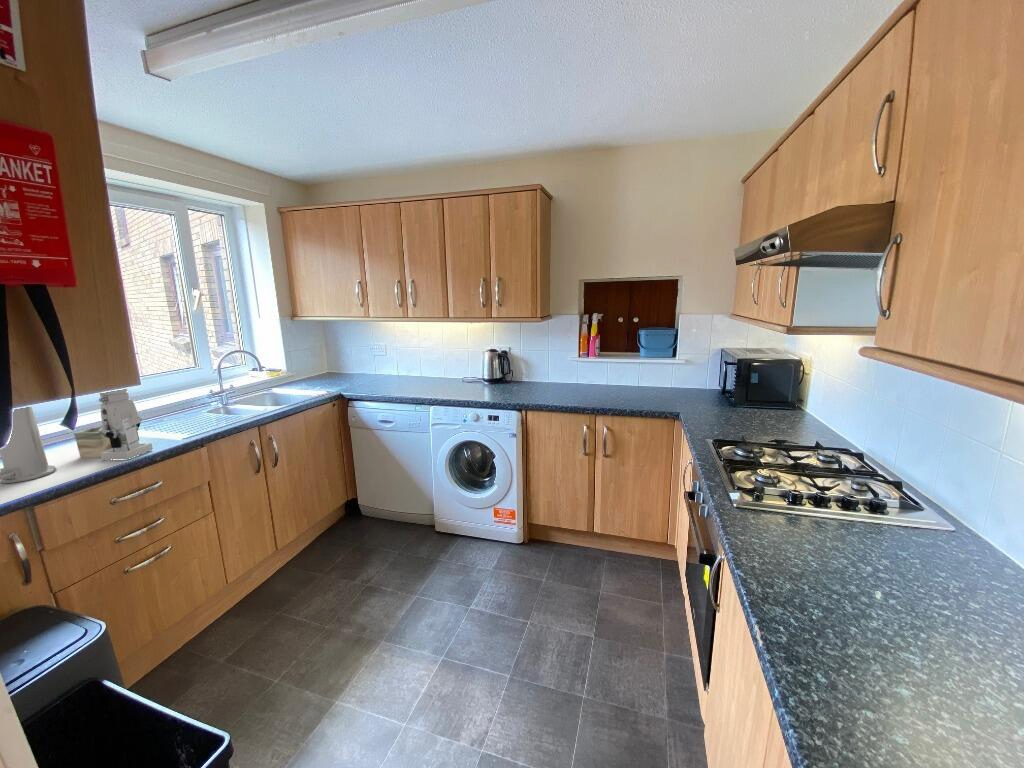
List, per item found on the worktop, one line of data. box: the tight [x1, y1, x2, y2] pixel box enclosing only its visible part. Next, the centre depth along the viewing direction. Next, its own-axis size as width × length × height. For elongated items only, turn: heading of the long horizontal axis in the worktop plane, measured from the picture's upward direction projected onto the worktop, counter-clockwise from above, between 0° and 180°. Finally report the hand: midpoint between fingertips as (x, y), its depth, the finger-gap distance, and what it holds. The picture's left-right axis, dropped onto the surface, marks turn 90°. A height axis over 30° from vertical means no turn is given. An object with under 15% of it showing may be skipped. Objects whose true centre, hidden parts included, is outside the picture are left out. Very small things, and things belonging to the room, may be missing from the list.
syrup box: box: [108, 418, 140, 452], centre depth 158 cm, size 6×6×14 cm
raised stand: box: [73, 424, 113, 458], centre depth 163 cm, size 10×10×10 cm
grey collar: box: [100, 442, 154, 461], centre depth 159 cm, size 10×10×3 cm
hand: (125, 444), depth 159 cm, fingers closed on syrup box, 6 cm apart
